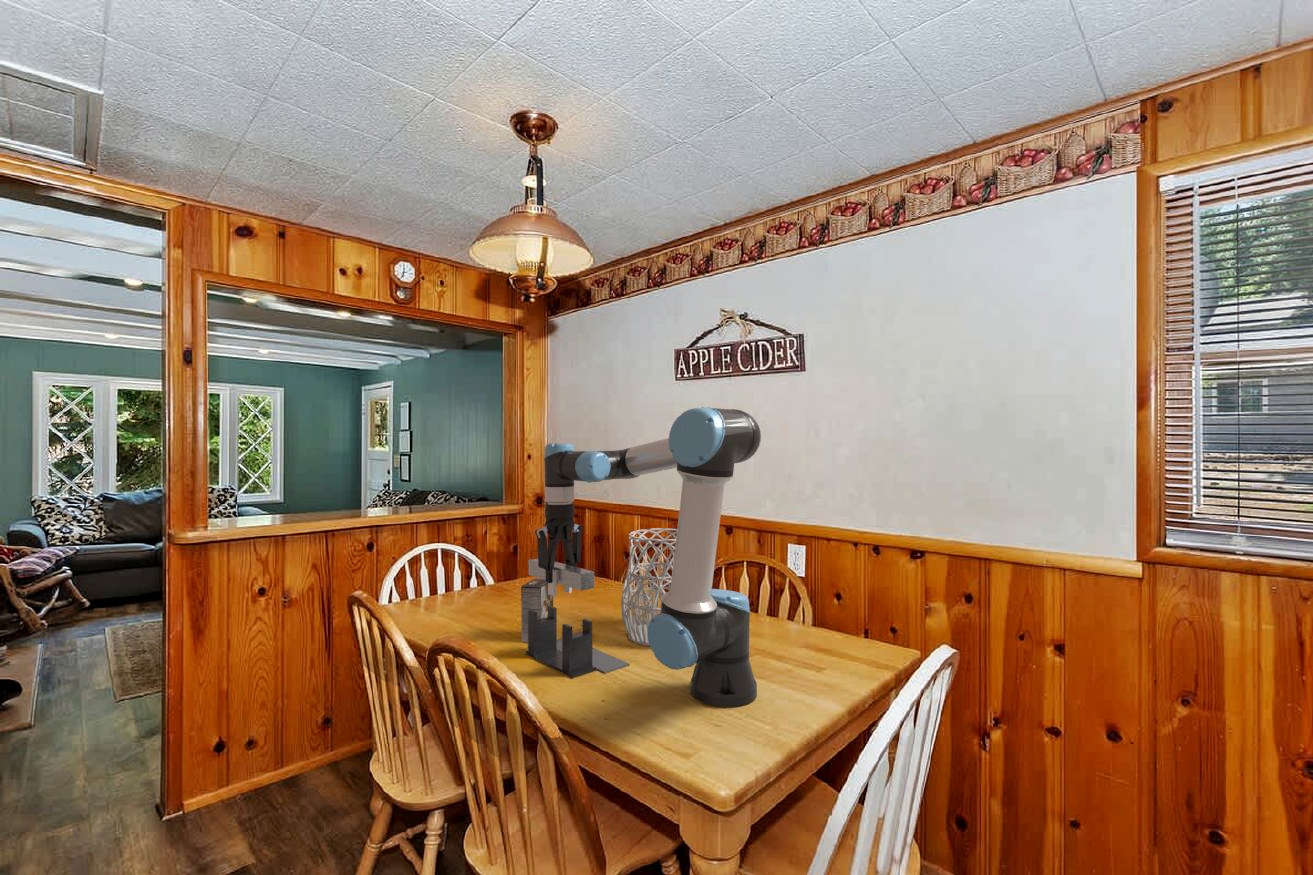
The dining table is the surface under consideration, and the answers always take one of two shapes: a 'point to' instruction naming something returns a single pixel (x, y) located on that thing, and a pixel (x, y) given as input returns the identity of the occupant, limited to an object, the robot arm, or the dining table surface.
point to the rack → (574, 646)
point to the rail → (565, 575)
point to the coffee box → (534, 602)
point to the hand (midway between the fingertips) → (560, 593)
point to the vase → (631, 623)
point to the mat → (601, 660)
